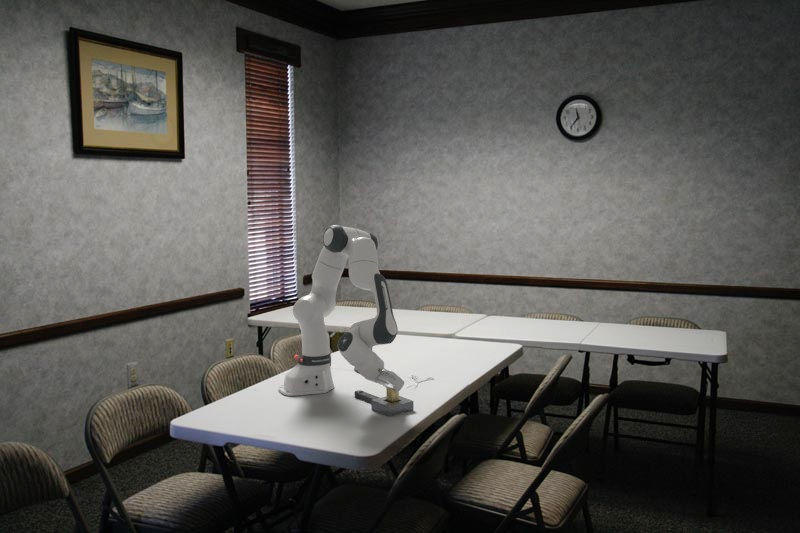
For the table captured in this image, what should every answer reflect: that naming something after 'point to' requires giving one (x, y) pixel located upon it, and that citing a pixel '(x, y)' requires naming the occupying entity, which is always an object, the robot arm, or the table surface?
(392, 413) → the grey handled square frame
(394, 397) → the bar
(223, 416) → the table surface
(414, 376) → the scissors
